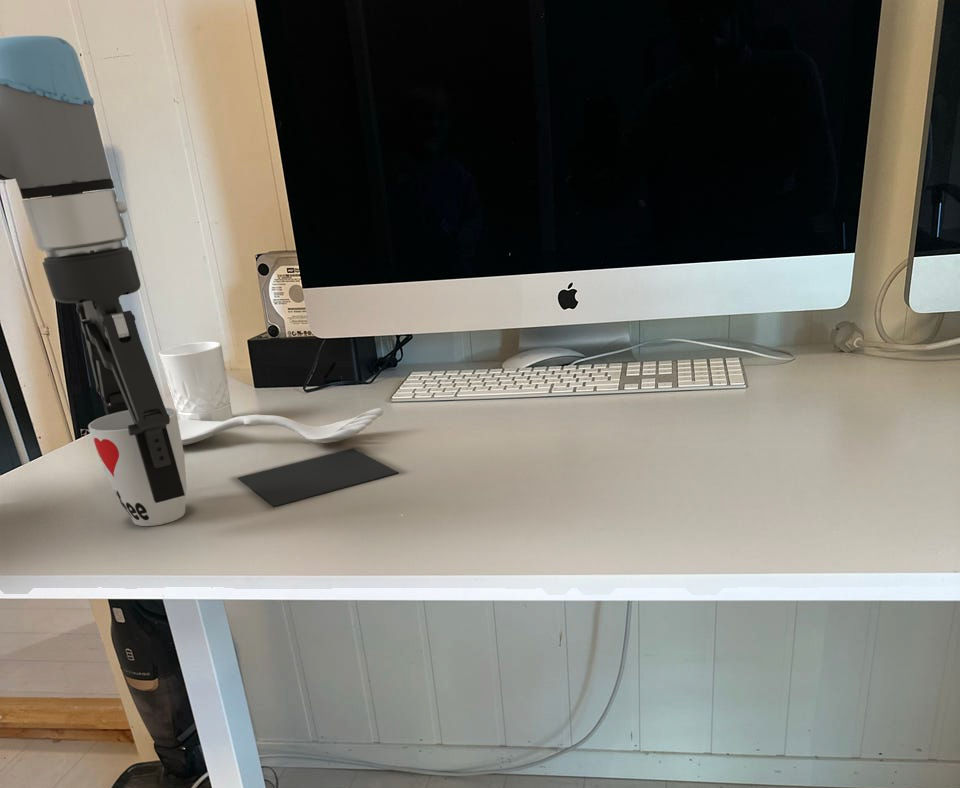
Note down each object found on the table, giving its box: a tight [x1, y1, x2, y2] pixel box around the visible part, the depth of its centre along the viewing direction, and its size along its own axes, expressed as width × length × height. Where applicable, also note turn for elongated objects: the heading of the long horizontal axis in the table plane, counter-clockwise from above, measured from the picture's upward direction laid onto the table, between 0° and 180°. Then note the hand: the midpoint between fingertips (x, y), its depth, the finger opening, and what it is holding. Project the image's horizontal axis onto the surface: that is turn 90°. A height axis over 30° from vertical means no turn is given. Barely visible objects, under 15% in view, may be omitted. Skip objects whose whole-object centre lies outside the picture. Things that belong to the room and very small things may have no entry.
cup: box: [87, 407, 188, 527], centre depth 89 cm, size 8×8×10 cm
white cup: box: [158, 341, 234, 422], centre depth 119 cm, size 8×8×10 cm
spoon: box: [177, 407, 384, 446], centre depth 111 cm, size 9×32×4 cm, turn 72°
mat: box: [237, 448, 399, 508], centre depth 98 cm, size 14×12×1 cm
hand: (152, 481), depth 89 cm, fingers open, 13 cm apart
